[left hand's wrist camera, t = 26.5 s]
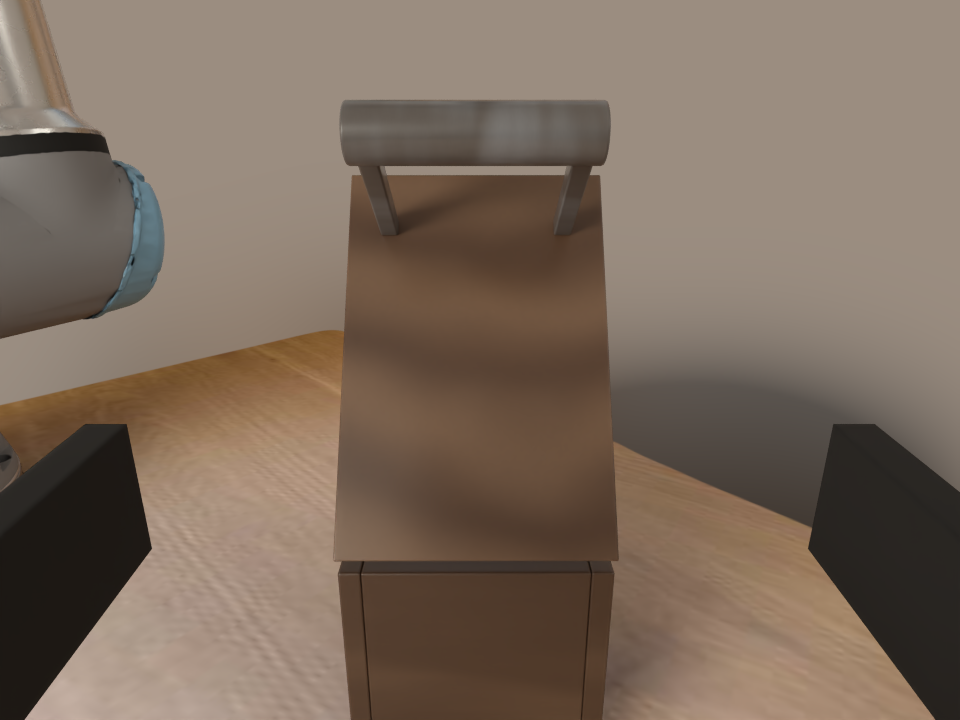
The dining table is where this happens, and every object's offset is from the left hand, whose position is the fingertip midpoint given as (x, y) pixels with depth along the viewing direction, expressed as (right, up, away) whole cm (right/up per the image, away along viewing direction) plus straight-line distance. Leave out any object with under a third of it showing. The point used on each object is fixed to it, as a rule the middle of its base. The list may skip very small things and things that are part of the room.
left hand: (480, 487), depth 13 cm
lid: (0, +2, +14) cm, 14 cm away
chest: (0, -13, +22) cm, 26 cm away
